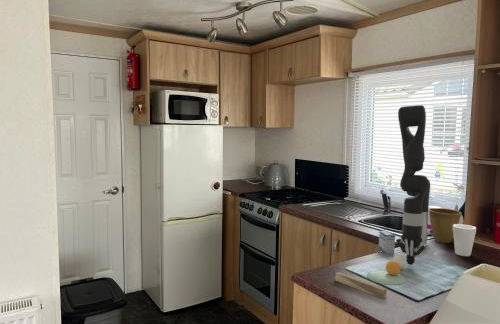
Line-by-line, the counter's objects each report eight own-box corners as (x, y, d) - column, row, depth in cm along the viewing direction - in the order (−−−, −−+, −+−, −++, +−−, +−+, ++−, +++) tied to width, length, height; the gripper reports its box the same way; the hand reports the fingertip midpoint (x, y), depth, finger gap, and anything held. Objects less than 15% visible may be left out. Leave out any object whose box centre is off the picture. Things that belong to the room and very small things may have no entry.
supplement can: (443, 235, 212) (444, 208, 211) (427, 234, 214) (428, 207, 212) (439, 232, 220) (440, 205, 219) (423, 231, 222) (424, 205, 220)
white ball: (395, 256, 164) (393, 269, 162) (392, 253, 160) (391, 266, 158) (408, 258, 161) (407, 272, 159) (406, 255, 157) (405, 268, 155)
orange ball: (387, 268, 157) (380, 265, 154) (397, 260, 156) (391, 256, 152) (394, 279, 153) (388, 276, 150) (405, 271, 152) (399, 267, 148)
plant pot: (442, 246, 193) (443, 214, 191) (421, 238, 207) (422, 208, 206) (466, 244, 196) (468, 213, 195) (444, 236, 211) (446, 207, 209)
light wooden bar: (338, 279, 147) (339, 271, 147) (386, 297, 132) (386, 288, 132) (335, 280, 146) (335, 272, 146) (383, 298, 131) (383, 290, 130)
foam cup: (469, 258, 174) (471, 230, 173) (448, 253, 181) (449, 226, 180) (477, 254, 180) (479, 226, 179) (456, 249, 187) (457, 223, 186)
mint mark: (361, 271, 156) (361, 271, 156) (395, 271, 157) (395, 270, 157) (375, 285, 142) (375, 284, 142) (412, 284, 143) (412, 284, 143)
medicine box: (378, 248, 188) (379, 230, 187) (387, 248, 188) (387, 230, 187) (385, 253, 180) (386, 235, 179) (394, 253, 180) (395, 235, 180)
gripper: (392, 221, 163) (390, 261, 164) (423, 227, 152) (421, 270, 154) (402, 218, 167) (400, 258, 169) (432, 224, 157) (430, 266, 159)
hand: (410, 264), depth 161 cm, fingers closed
